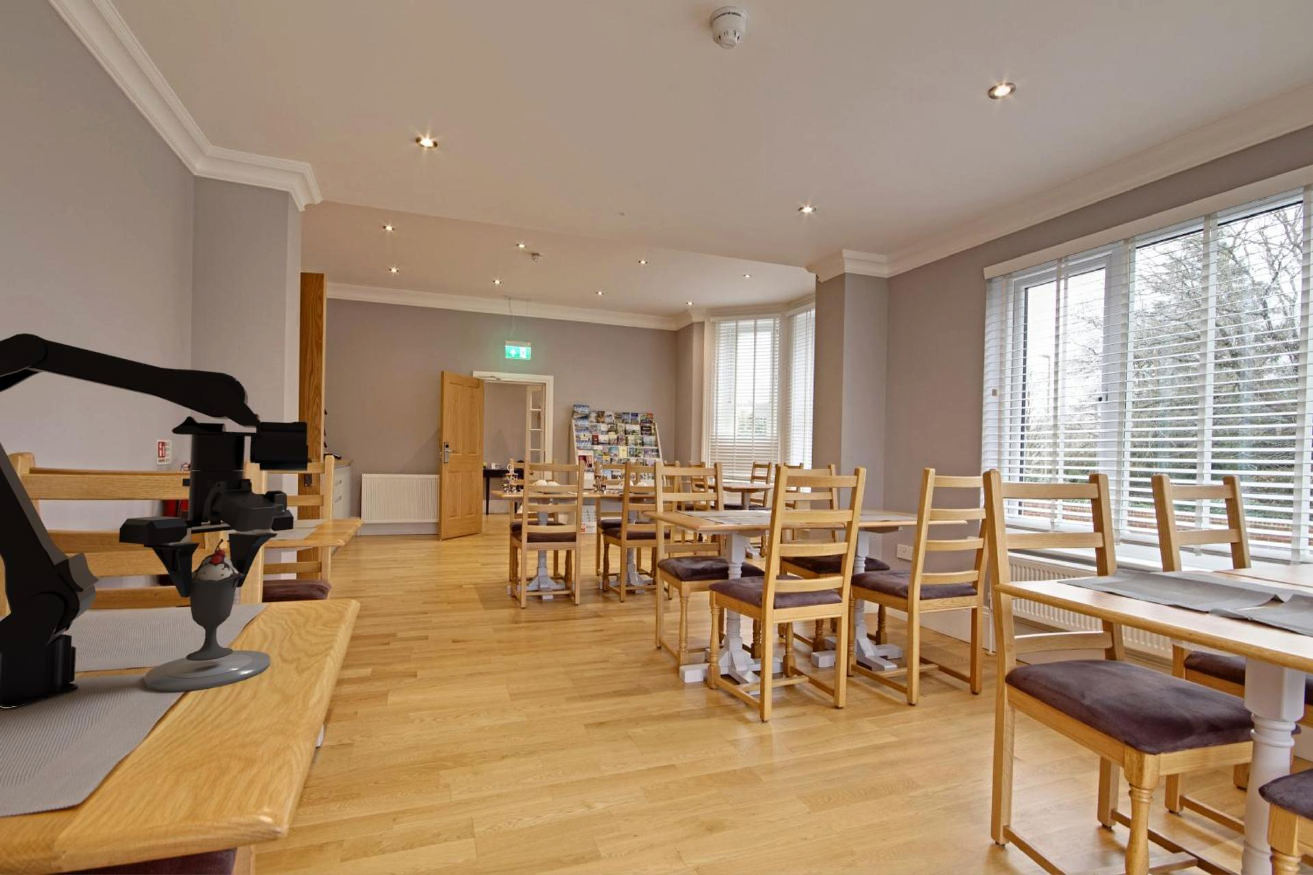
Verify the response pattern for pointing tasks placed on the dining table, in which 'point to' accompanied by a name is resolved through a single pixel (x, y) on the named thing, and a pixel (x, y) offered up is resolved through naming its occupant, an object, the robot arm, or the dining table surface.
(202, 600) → the sundae
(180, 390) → the robot arm
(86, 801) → the dining table surface
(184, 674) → the slate plate
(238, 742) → the dining table surface
